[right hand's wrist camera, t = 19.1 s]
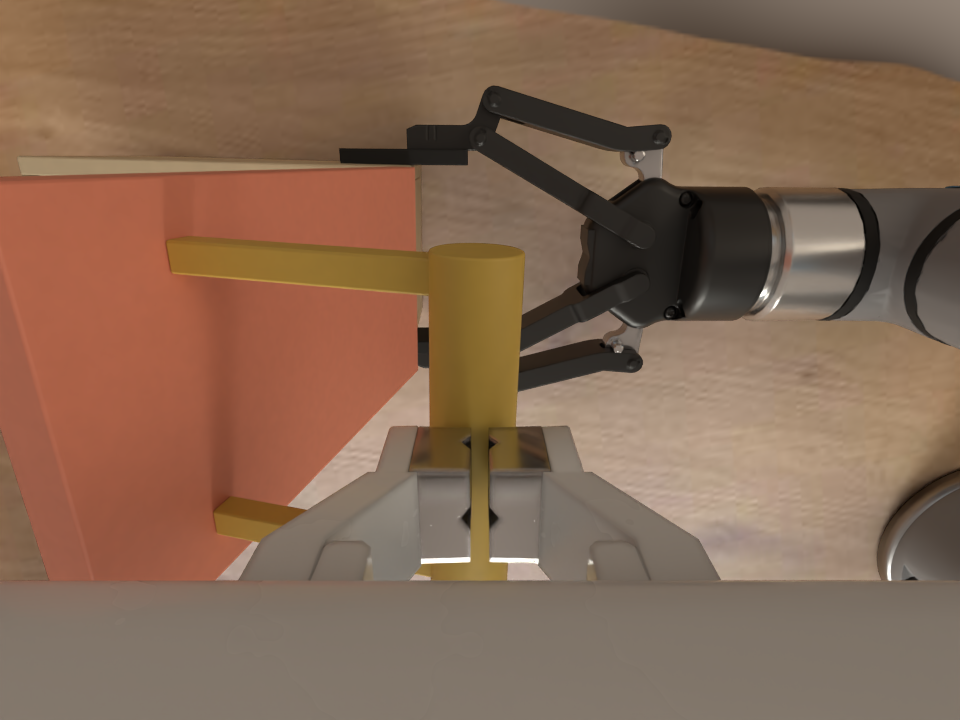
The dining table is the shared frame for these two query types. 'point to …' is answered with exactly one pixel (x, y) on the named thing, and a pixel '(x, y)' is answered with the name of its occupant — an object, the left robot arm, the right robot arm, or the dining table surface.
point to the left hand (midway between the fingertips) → (353, 254)
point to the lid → (229, 355)
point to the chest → (193, 164)
